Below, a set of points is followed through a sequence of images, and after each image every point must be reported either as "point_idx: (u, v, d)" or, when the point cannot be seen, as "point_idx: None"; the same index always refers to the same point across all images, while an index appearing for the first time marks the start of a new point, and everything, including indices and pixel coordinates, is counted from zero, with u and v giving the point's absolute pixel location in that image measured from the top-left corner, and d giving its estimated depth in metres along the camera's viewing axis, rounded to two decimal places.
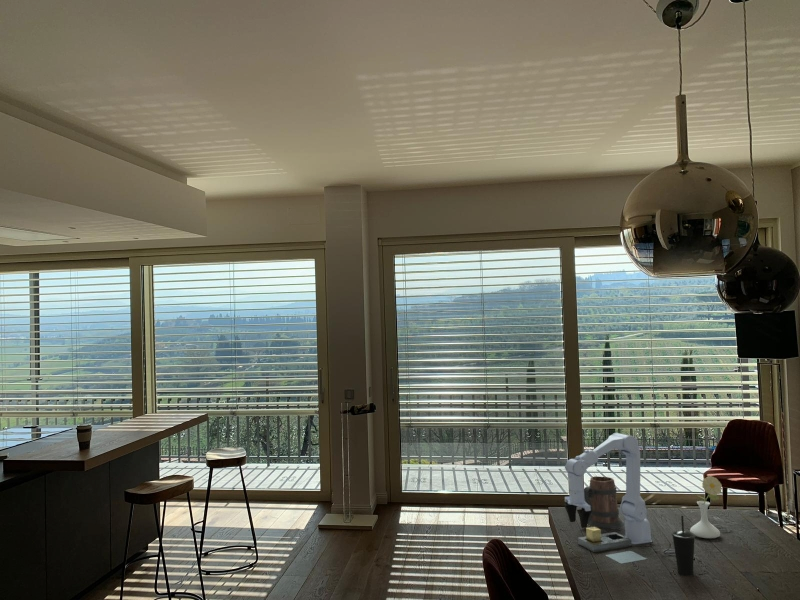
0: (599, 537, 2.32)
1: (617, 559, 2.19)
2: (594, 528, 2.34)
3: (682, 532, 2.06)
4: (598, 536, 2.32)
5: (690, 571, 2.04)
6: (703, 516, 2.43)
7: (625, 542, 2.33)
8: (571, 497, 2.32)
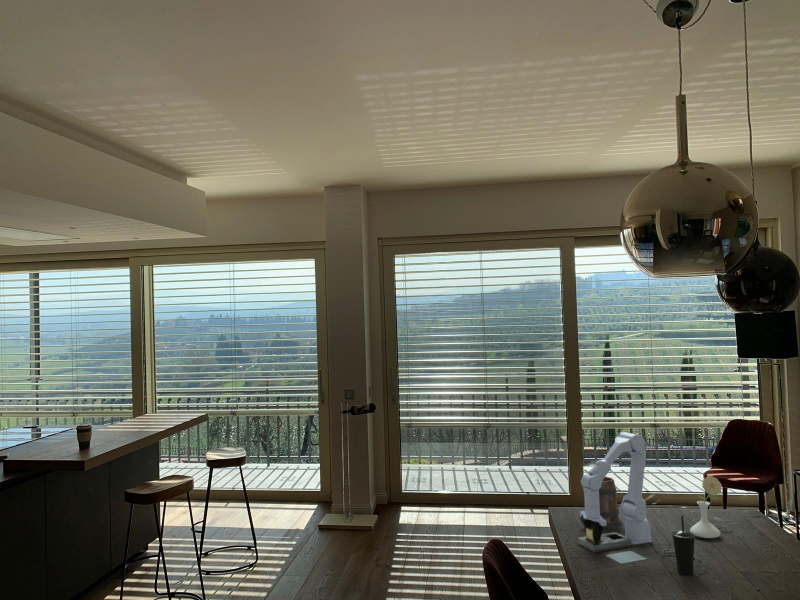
0: None
1: (617, 559, 2.19)
2: None
3: (682, 532, 2.06)
4: None
5: (690, 571, 2.04)
6: (703, 516, 2.43)
7: (625, 542, 2.33)
8: (587, 512, 2.33)
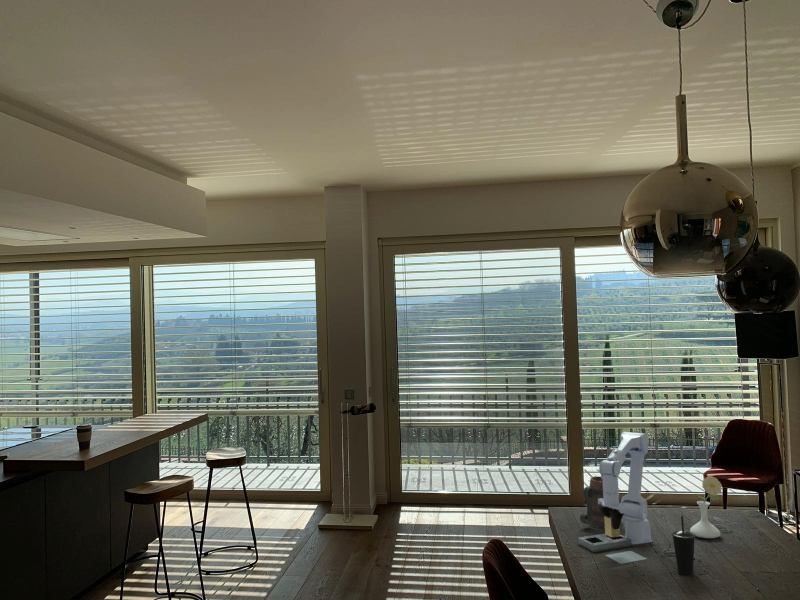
0: None
1: (617, 559, 2.19)
2: None
3: (682, 532, 2.06)
4: None
5: (690, 571, 2.04)
6: (703, 516, 2.43)
7: (625, 542, 2.33)
8: (605, 499, 2.26)
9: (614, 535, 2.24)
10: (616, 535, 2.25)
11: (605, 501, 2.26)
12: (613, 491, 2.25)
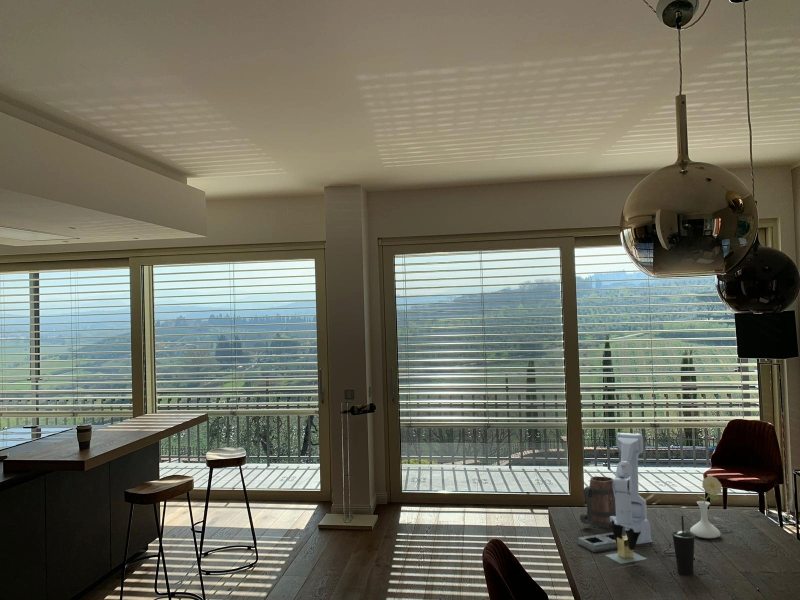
0: None
1: (617, 559, 2.19)
2: (625, 537, 2.22)
3: (682, 532, 2.06)
4: None
5: (690, 571, 2.04)
6: (703, 516, 2.43)
7: None
8: (618, 517, 2.21)
9: (627, 557, 2.20)
10: (629, 557, 2.20)
11: (618, 519, 2.22)
12: (628, 509, 2.20)
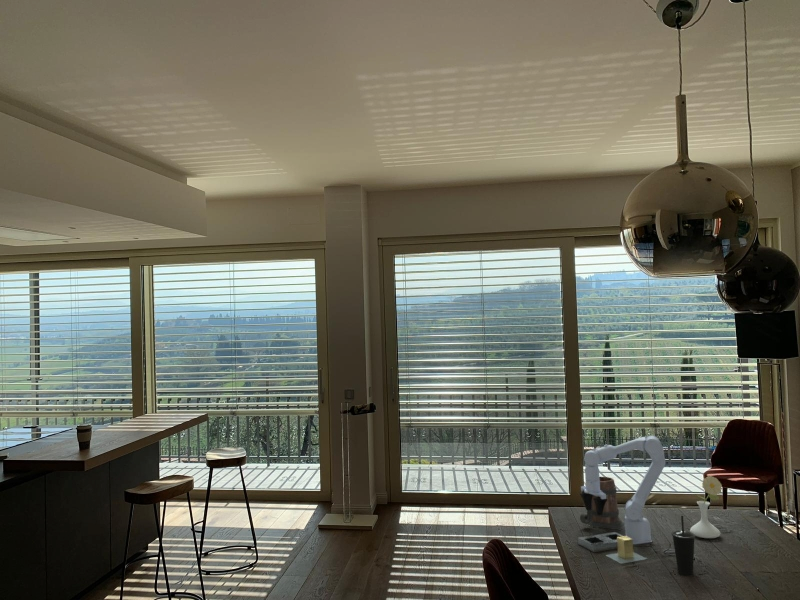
0: (631, 547, 2.20)
1: (617, 559, 2.19)
2: (625, 537, 2.22)
3: (682, 532, 2.06)
4: (630, 546, 2.20)
5: (690, 571, 2.04)
6: (703, 516, 2.43)
7: None
8: (587, 486, 2.46)
9: (627, 557, 2.20)
10: (629, 557, 2.20)
11: (587, 488, 2.46)
12: (587, 478, 2.46)
